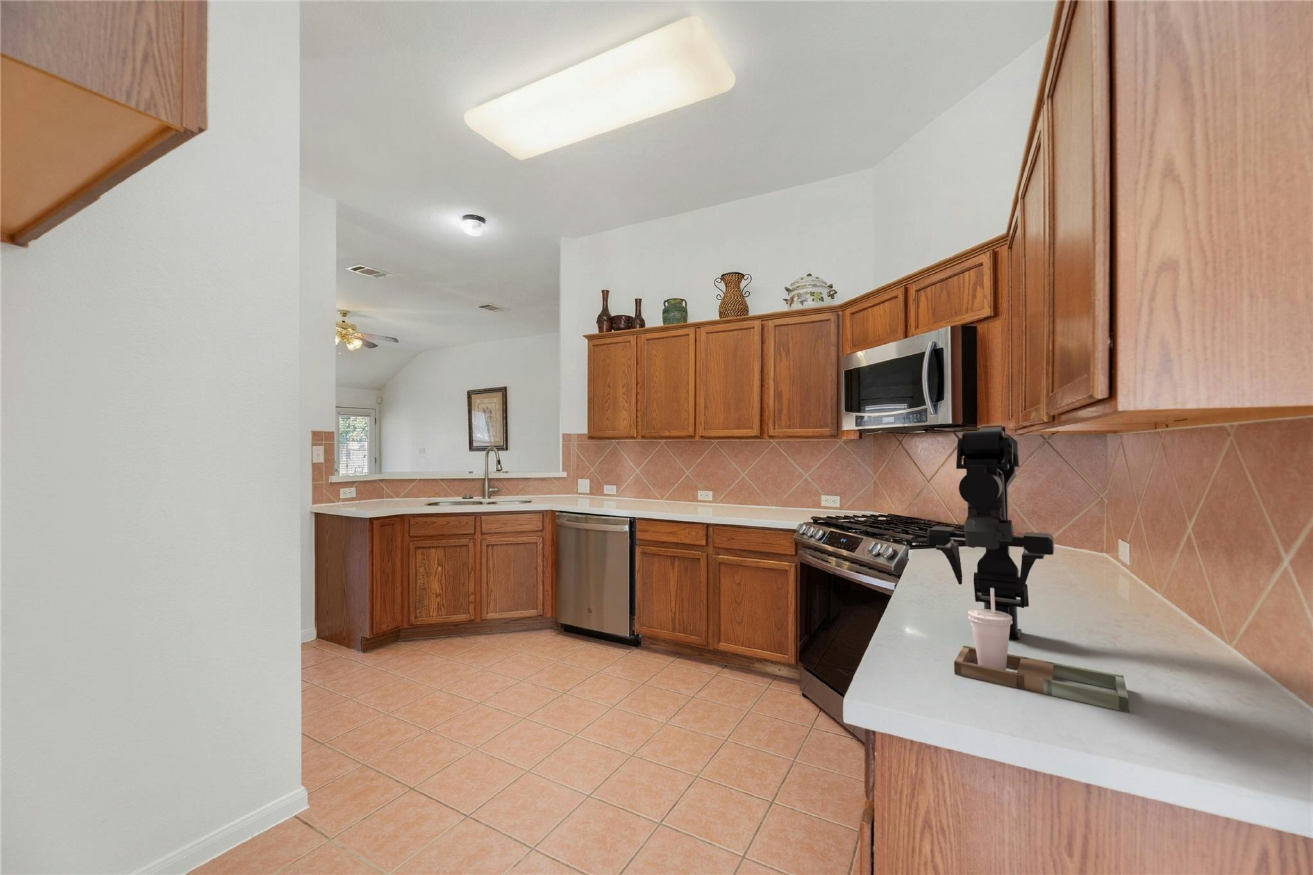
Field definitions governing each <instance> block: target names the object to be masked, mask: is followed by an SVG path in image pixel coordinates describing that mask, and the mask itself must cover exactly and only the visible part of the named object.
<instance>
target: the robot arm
mask: <svg viewBox="0 0 1313 875" xmlns="http://www.w3.org/2000/svg"><path fill="white" fill-rule="evenodd" d="M956 445H957V448H956V449H957V450H956V463H955V465H956V466H955V468H956V470H965V471H966V474H965V475H964V476H963V477H962V478H961V480H960V482H959V485H958V493H959V495H960V497H961V499H963V500H964V501H965V502H966V504H967V517H966V520H965V521H964V528H963V531H964V532H962V531H957V530H956V528H955V527H952V526H938V525H936V526H933V527H932V528H930V529H929V530H927V532H926V544H927V545H929V546H935V547H934V548H935V550H937V551H940V552H942V553H943V554H944V556H945V557H946V559H947V561H948V562H949V564H950V567H951V569H952V571H953V574H954V576H955V579H956V581H957V584H958V585H961V586H962V584H963V572H962V571H963V569H962V563H961V562H962V561H961V554H960V548H959V543H962V544H963V543H965V546H966V547H968V548H973V549H975V548H983V549H984V548H985V553H984V554H983V555H982V557H980V558H979V560H978V561H977V564H976V571H974V572H973V592H974V600H975V603H983V609H989V610H991V595H990V588H994V598H995V610H996V611H1000V612H1004V613H1007V614H1009V615H1011V616H1012V622H1013V623H1012V624H1011V625H1010V634H1009V639H1012V640H1020V638H1021V635H1022V633H1023V631H1022V630H1023V629H1022V628H1019V625H1018V624H1019V622H1018V608H1021V609H1024V608H1028V607H1029V606H1030V603H1029V602H1030V601H1029V588H1028V584H1027V580H1028V577H1029V575H1030V574H1029V573H1030V571H1031V569H1032V567H1033V566H1034V563H1035V562H1036V560H1043V559H1044V558H1045V555H1046V556H1052V555H1054V554H1055V538H1054V536H1053V535H1052V534H1051V533H1049V532H1032V531H1031V532H1030V531H1025V532H1024V534H1023V536H1021V535H1014V524H1013V521H1012V519H1009V489H1008V488H1009V487H1010V485H1011V484H1012V483H1013V482H1014V480H1015V479H1016V478H1017V468H1020V452H1019V443H1018V441H1017V440H1016V439H1015V438H1014V437H1012V436H1011V435H1010V434H1008V433H1007V426H1006V425H1002V424H999V425H998V424H997V425H981V426H980V427H977V430H975V431H974V430H973V431H972V430H971V431H970V430H969V431H968V430H967V431H963V432H962V433H961V437H958V438H957V444H956ZM1010 547H1014V548H1015V547H1017V548H1023V551H1022V553H1021V565H1020V570H1019V567H1018V566H1017V564H1016V563H1015V562H1014V560H1013V559H1012V557H1011V556H1010Z"/></svg>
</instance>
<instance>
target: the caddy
mask: <svg viewBox="0 0 1313 875" xmlns="http://www.w3.org/2000/svg"><path fill="white" fill-rule="evenodd" d="M970 661H974V662H978V659H977V654H976V648H975V647H973V646H967V645H963V646H962V648H961V649H960V651H959V652H958V655H957V656H956V658H955V659H954V661H953V666H954V667H953V668H954V670H953V672H954V673H953V674H954V675H958V676H961V677H962V676H963V677H967V678H971V679H972V678H973V679H976V680H979V681H980V680H981V681H985V682H990V683H993V684H994V683H995V684H998V685H1003V686H1006V687H1007V686H1008V687H1012V688H1017V689H1021V690H1026V691H1030V692H1033V693H1039V694H1044V695H1047V696H1053V697H1057V698H1061V699H1066V700H1071V701H1075V702H1080V703H1084V704H1089V705H1093V706H1097V707H1103V708H1107V709H1111V710H1116V711H1121V712H1125V713H1130V707H1129V706H1130V704H1129V696H1128V690H1127V685H1126V681H1125V676H1124V675H1123V674H1122V675H1121V674H1116V673H1110V672H1105V671H1100V670H1096V669H1091V668H1084V667H1080V666H1074V665H1068V664H1063V663H1060V662H1059V663H1058V662H1053V661H1049V660H1048V661H1047V660H1042V659H1037V658H1032V657H1026V656H1022V655H1016V654H1011V653H1007V663H1006V668H1009V669H1013V670H1017V672H1016V671H1010V670H1007V669H1006V670H1001V669H997V668H992V667H987V666H982V665H978V663H977V664H976V663H971V662H970ZM1055 678H1058V679H1062V680H1068V681H1074V682H1078V683H1084V684H1089V685H1093V686H1098V687H1103V688H1108V689H1112V690H1113V689H1114V690H1115V691H1116V692H1114V691H1113V692H1112V691H1108V690H1102V689H1097V688H1093V687H1088V686H1084V685H1079V684H1074V683H1069V682H1064V681H1059V680H1055Z"/></svg>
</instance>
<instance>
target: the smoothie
mask: <svg viewBox="0 0 1313 875" xmlns="http://www.w3.org/2000/svg"><path fill="white" fill-rule="evenodd" d="M990 595H991V610H989V609H984V608H973V609H970V610H968V614H967V615H968V616H967V618H968V619H969V620H970V623H971V629H972V636H973V642H974V646H975V647H974V648H976V654H977V659H978V661H977V665H982V666H987V667H992V668H997V669H1001V670H1006V671H1007V667H1006V663H1007V654H1009V653H1008V651H1009V641H1010V638H1009V634H1010V625H1011V624H1012V623H1013V622H1012V616H1011V615H1009V614H1007V613H1004V612H1000V611H996V610H995V598H994V588H990Z"/></svg>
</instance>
